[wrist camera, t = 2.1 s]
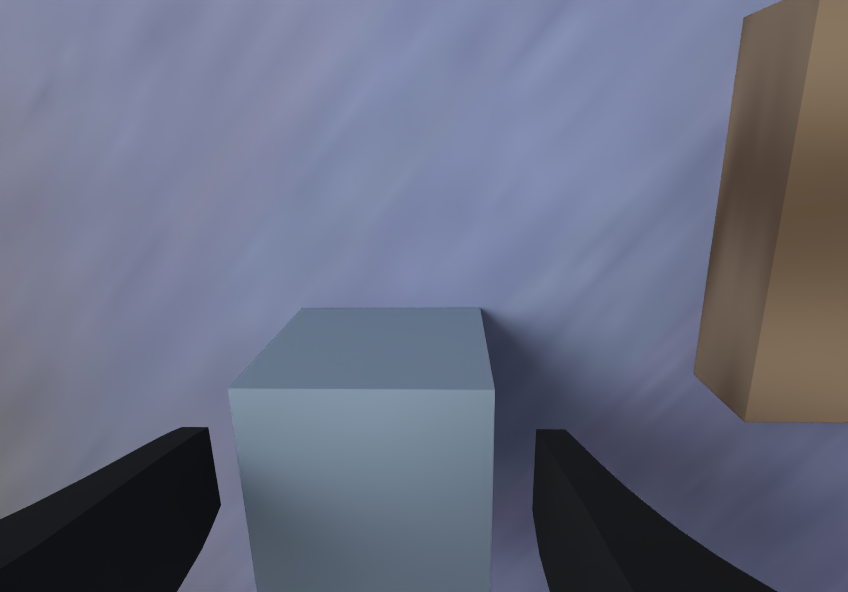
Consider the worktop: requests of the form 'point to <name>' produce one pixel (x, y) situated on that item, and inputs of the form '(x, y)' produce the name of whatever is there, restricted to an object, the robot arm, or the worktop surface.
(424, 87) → the worktop surface
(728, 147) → the walnut slab
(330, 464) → the slate cube
